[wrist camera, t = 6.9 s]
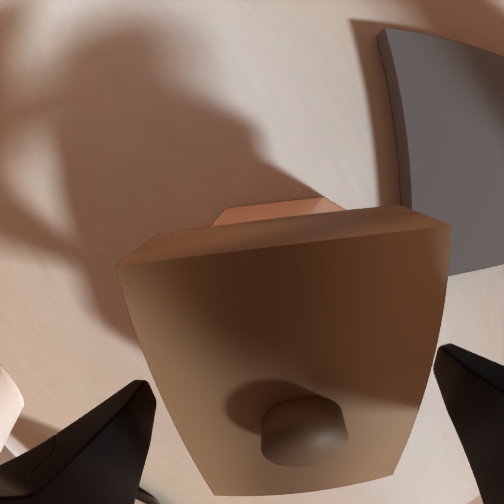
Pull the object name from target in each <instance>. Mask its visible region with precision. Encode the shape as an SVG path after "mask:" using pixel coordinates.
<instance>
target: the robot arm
mask: <svg viewBox="0 0 504 504" xmlns="http://www.w3.org/2000/svg"><path fill="white" fill-rule="evenodd" d="M433 370H434V375H435V377H436V380H437V383H438V386H439V389H440V391H441V394H442V397H443V400H444V403H445V406H446V409H447V411H448V414H449V416H450V418H451V420H452V423H453V425H454V427H455V429H456V432H457V434H458V436H459V439H460V441H461V443H462V446H463V448H464V451H465V453H466V456H467V458H468V461H469V463H470V466H471V469H472V471H473V474H474V477H475V480H476V482H477V485H478V488H479V491H480V494H481V497H482V500H483V503H484V504H504V366H503V365H500V364H498V363H496V362H493V361H491V360H489V359H486V358H484V357H482V356H479V355H477V354H475V353H472V352H470V351H468V350H465V349H463V348H461V347H458V346H456V345H454V344H451V343H449V344H445V345H442V346H440V347H439V348H438V350H437V355H436V359H435V363H434V368H433ZM155 411H156V398H155V396H154V394H153V392H152V389H151V387H150V385H149V383H148V382H147V381H146V380H134V381H132V382H131V383H129V384H128V385H127V386H125V387H124V388H122V389H121V390H120V391H118V392H117V393H115V394H114V395H112V396H111V397H110V398H108V399H107V400H105V401H104V402H102V403H101V404H100V405H98V406H97V407H95V408H94V409H92V410H91V411H89V412H88V413H87V414H85V415H84V416H82V417H81V418H79V419H78V420H76V421H75V422H73V423H72V424H70V425H69V426H67V427H66V428H64V429H63V430H61V431H60V432H58V433H57V434H56V435H54V436H52V437H51V438H49V439H48V440H46V441H45V442H43V443H41V444H40V445H38V446H36V447H35V448H33V449H31V450H29V451H27V452H25V453H24V454H22V455H20V456H18V457H16V458H14V459H12V460H10V461H7V462H5V463H3V464H2V465H0V504H134V503H135V499H136V495H137V491H138V487H139V483H140V480H141V476H142V472H143V468H144V465H145V461H146V457H147V454H148V450H149V446H150V441H151V436H152V429H153V423H154V417H155Z"/></svg>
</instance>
